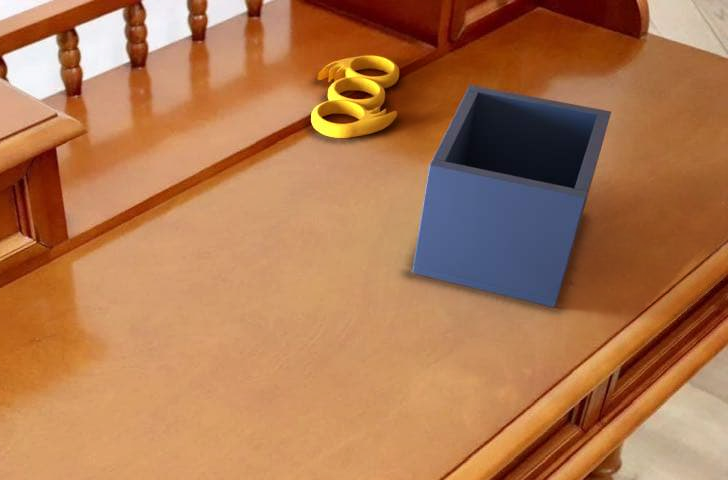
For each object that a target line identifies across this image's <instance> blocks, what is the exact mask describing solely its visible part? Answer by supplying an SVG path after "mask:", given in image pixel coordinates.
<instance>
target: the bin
mask: <svg viewBox="0 0 728 480" xmlns="http://www.w3.org/2000/svg"><path fill="white" fill-rule="evenodd" d="M611 115H612V111H611V110H605V109H600V108H595V107H590V106H584V105H580V104H574V103H569V102H564V101H563V102H562V101H559V100H553V99H547V98H542V97H536V96H530V95H526V94H520V93H514V92H510V91H506V90H505V91H504V90H499V89H493V88H488V87H483V86H478V85H473V84H469V85H468V87H467V89H466V91H465V93H464V95H463V97H462V99H461V102H460V103H459V106H458V107H457V110H456V111H455V113H454V116H453V118H452V120H451V121H450V123H449V126H448V128H447V130H446V131H445V134H444V135H443V137H442V139H441V141H440V144H439V146H438V148H437V149H436V151H435V153H434V155H433V157H432V160H431V162H430V163H429V167H428V172H427V179H426V185H425V191H424V198H423V205H422V210H421V215H420V216H421V217H420V223H419V228H418V235H417V241H416V247H415V253H414V260H413V267H412V274H415V275H419V276H422V277H427V278H431V279H434V280H439V281H443V282H448V283H450V284H456V285H460V286H463V287H467V288H472V289H476V290H480V291H485V292H489V293H492V294H496V295H501V296H505V297H509V298H513V299H517V300H522V301H525V302H530V303H533V304H538V305H542V306H546V307H550V308H556V307H557V303H558V300H559V296H560V293H561V290H562V286H563V283H564V279H565V276H566V272H567V269H568V267H569V262H570V259H571V256H572V253H573V252H572V251H573V249H574V245H575V243H576V238H577V235H578V233H579V232H578V231H579V228H580V225H581V221H582V219H583V215H584V211H585V208H586V204H587V200H588V196H589V194H590V189H591V185H592V182H593V179H594V175H595V171H596V168H597V164H598V161H599V158H600V153H601V152H602V151H601V150H602V147H603V144H604V140H605V136H606V133H607V129H608V125H609V122H610V118H611Z"/></svg>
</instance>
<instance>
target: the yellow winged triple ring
mask: <svg viewBox="0 0 728 480" xmlns="http://www.w3.org/2000/svg"><path fill="white" fill-rule="evenodd" d="M366 69H369V70H370V69H371V70H372V69H373V70H378V71H382V72H385V73H386V74H383V75H378V76H370V75H364V74H362V73H359V72H356V71H360V70H366ZM399 77H400V69H399V66H398V65H397V64H396V62H394V61H393V60H391V59H390V58H388V57H384V56H380V55H374V54H366V55H364V54H363V55H358V56H353V57H346V58H342V59H337V60H335V61H333V62H331V63H329V64H327V65H325V66H324V67H323V68H322V69H321V70H320V71H319V72H318V74H317V80H318V81H321V80H324V79H327V78H328V80H327V83H330V82H331V81H332V80H333V83H332V84H331V85H330V86H329V87H328V90H327V98H328V100H327V101H324V102H321V103H320V104H318V105H316V106H315V107H314V108H313V110H312V111H311V117H310V121H311V125H312V127H313V128H314V130H316V131H317V132H318V133H320V134H321V135H323V136H327V137H330V138H335V139H349V138H354V137H361V136H366V135H370V134H374V133H377V132H380V131H382V130H384V129H386V128H387V127H389V126H390V125H391V124H392V123H394V121H395V119H396V118H397V116H398V110H393V111H390V112H389V113H387V108H384V109H383V110H382V111H381V107H382V105H383V104H384V102H385V99H386V92H385V89H388V88H391V87H392V86H394V85H395V84H396V83H397V81H398V80H399ZM351 91H359V92H365V93H368V94H370V95H372V97H369V98H363V99H360V98H359V99H356V98H350V97H346V96H343V95H341V94H340V93H344V92H351ZM335 114H339V115H348V116H351V117H353V118H356V119H357V120H356V121H354V122H349V123H335V122H331V121H329V120H328V121H327V120H326V119H324V118H323V117H325V116H328V115H335Z"/></svg>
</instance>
